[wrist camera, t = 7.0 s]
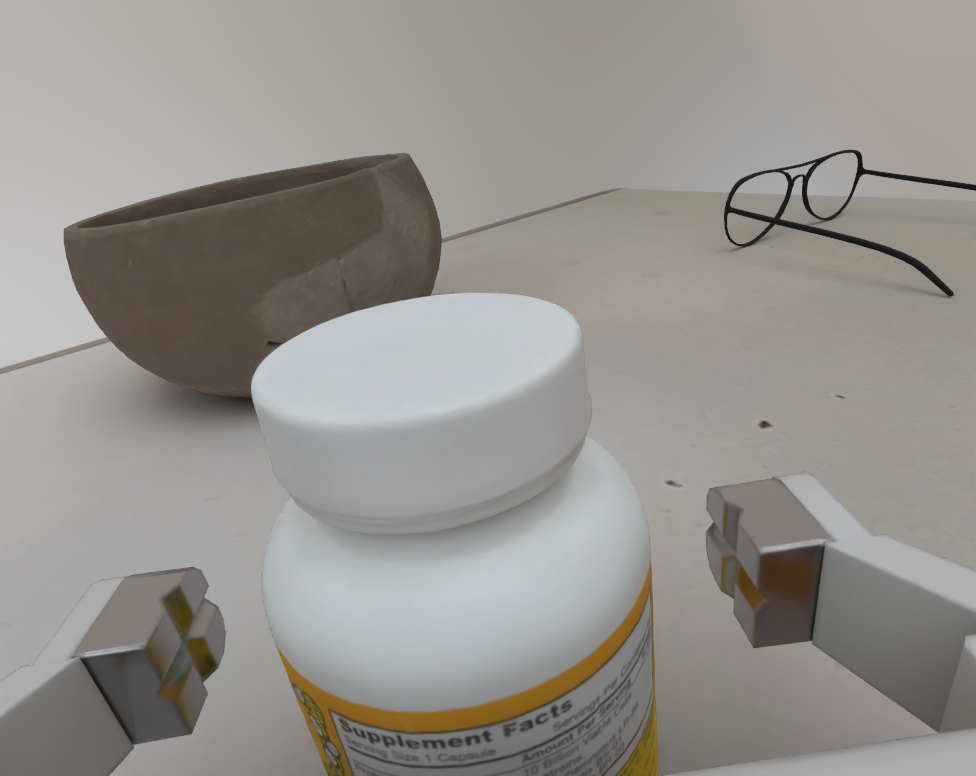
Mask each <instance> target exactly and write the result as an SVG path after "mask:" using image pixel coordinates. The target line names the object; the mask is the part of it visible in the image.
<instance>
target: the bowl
mask: <svg viewBox="0 0 976 776" xmlns="http://www.w3.org/2000/svg"><path fill="white" fill-rule="evenodd" d="M64 245H65V251H66V257H67V260H68V264H69V268H70V272H71V275H72V279H73V281H74V284H75V287H76V290H77V291H78V293H79V295H80V297H81V299H82V301H83V302H84V304H85V306H86V307H87V309H88V310H89V312H90V314H91V315H92V317H93V319H94V320H95V322H96V323H97V325H98V326H99V327H100V329H101V330H102V331H103V332H104V334H105V335H106V336H107V337H108V338H109V339H110V340H111V342H112V343H113V344H114V345H115V346H116V347H117V348H118V349H119V350H120V351H121V352H123V353H124V354H125V355H126V356H127V357H128V358H129V359H131V360H132V361H134V362H135V363H137V364H138V365H140V366H141V367H143V368H144V369H146V370H148V371H150V372H152V373H154V374H155V375H157V376H159V377H161V378H163V379H165V380H167V381H170V382H173V383H176V384H179V385H181V386H185V387H189V388H191V389H194V390H196V391H199V392H203V393H207V394H214V395H219V396H227V397H244V398H252V393H251V383H252V378H253V376H254V374H255V372H256V370H257V368H258V366H259V365H260V364H261V363H262V361H263V360H264V359H265V358H266V357H267V356H268V355H270V354H271V353H272V352H273V351H274V350H275V349H277V348H278V347H279V346H281V345H282V344H284V343H286V342H287V341H289V340H291V339H292V338H294V337H296V336H298V335H299V334H301V333H303V332H305V331H307V330H309V329H311V328H313V327H315V326H317V325H319V324H322V323H324V322H327V321H329V320H332V319H335V318H338V317H340V316H343V315H346V314H349V313H352V312H356V311H359V310H363V309H367V308H371V307H375V306H379V305H382V304H388V303H393V302H398V301H403V300H409V299H414V298H420V297H426V296H430V295H431V293H432V290H433V287H434V283H435V280H436V276H437V272H438V269H439V263H440V255H441V230H440V223H439V219H438V215H437V211H436V208H435V205H434V202H433V199H432V197H431V195H430V192H429V190H428V188H427V186H426V184H425V181H424V179H423V177H422V175H421V173H420V172H419V170H418V168H417V167H416V165H415V163H414V162H413V160H412V158H411V157H410V155H409V154H405V153H401V154H387V155H376V156H366V157H358V158H351V159H344V160H338V161H332V162H327V163H322V164H316V165H310V166H305V167H299V168H293V169H287V170H281V171H275V172H269V173H264V174H259V175H253V176H247V177H241V178H235V179H231V180H226V181H222V182H217V183H213V184H209V185H204V186H200V187H196V188H192V189H188V190H184V191H180V192H176V193H172V194H168V195H165V196H161V197H157V198H153V199H149V200H146V201H142V202H139V203H135V204H132V205H129V206H126V207H122V208H119V209H116V210H113V211H109V212H106V213H102V214H99V215H97V216H94V217H91V218H87V219H85V220H82V221H79V222H77V223H75V224H72V225H70V226H68V227H67V228H65V229H64Z"/></svg>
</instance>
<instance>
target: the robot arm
mask: <svg viewBox="0 0 976 776" xmlns="http://www.w3.org/2000/svg"><path fill="white" fill-rule="evenodd" d="M706 510H707V511H708V513H709V515H710V516H711V518H712V519H713V521H714V522H713V524H712V525H711V526H710V527H709V529H708V530H707V531H706V551H707V556H708V561H709V566H710V569H711V571H712V574H713V576H714V579H715V581H716V583H717V584H718V586H719V588H720V590H721V591H722V592H723V593H725V594H727V595H729V596H730V597H732V598H734V615H735V617H736V618H737V620H738V622H739V624H740V625H741V627H742V629H743V630H744V632H745V634H746V636H747V637H748V639H749V641H750V643H751V644H752V646H753V648H759V647H767V646H775V645H783V644H791V643H799V642H807V641H812V644H813V645H814V646H816V647H817V648H819V649H820V650H821V651H823V652H824V653H826V654H827V655H829V656H830V657H831V658H833V659H834V660H836V661H837V662H839V663H840V664H841V665H843V666H844V667H846V668H847V669H849V670H850V671H851V672H853V673H854V674H856V675H857V676H859V677H860V678H861V679H863V680H864V681H866V682H867V683H868V684H870V685H871V686H873V687H874V688H876V689H877V690H878V691H880V692H881V693H883V694H884V695H886V696H887V697H888V698H890V699H891V700H893V701H894V702H896V703H897V704H898V705H900V706H901V707H903V708H904V709H906V710H907V711H908V712H910V713H911V714H913V715H914V716H916V717H917V718H918V719H920V720H921V721H923V722H924V723H926V724H927V725H928V726H930V727H931V728H933V729H934V730H936V731H937V732H938V733H936V734H929V735H923V736H916V737H910V738H903V739H896V740H890V741H883V742H877V743H870V744H864V745H857V746H850V747H844V748H837V749H831V750H824V751H818V752H811V753H805V754H798V755H791V756H785V757H778V758H772V759H765V760H759V761H752V762H746V763H739V764H733V765H726V766H720V767H713V768H706V769H700V770H693V771H687V772H680V773H674V774H667V775H661V776H976V571H974V570H972V569H969V568H967V567H964V566H962V565H959V564H956V563H954V562H951V561H949V560H946V559H944V558H941V557H939V556H936V555H934V554H931V553H929V552H926V551H924V550H921V549H919V548H916V547H914V546H911V545H908V544H906V543H903V542H901V541H898V540H896V539H893V538H891V537H888V536H886V535H883V534H882V535H875V536H872V535H871V534H870V533H869V532H868V531H867V530H866V529H865V528H864V527H863V526H862V525H861V524H860V523H859V522H858V521H857V520H856V519H855V518H854V517H853V516H852V515H851V514H850V513H849V512H848V511H847V510H846V509H845V508H844V507H843V506H842V505H841V504H840V503H839V502H838V501H837V500H836V499H835V498H834V497H833V496H832V495H831V494H830V493H829V492H828V491H827V490H826V489H825V488H824V487H823V486H822V485H821V484H820V483H819V482H818V481H817V480H816V479H815V478H814V477H813V476H812V475H811V474H809V473H806V472H799V473H794V474H788V475H783V476H777V477H773V478H772V479H766V480H759V481H753V482H747V483H740V484H734V485H728V486H721V487H715V488H709V492H708V495H707V506H706ZM208 587H209V585H208V583H207V581H206V579H205V577H204V575H203V573H202V571H201V570H200V569H197V568H194V567H189V568H181V569H173V570H166V571H158V572H150V573H143V574H135V575H131V576H122V577H115V578H108V579H101V580H99V581H97V582H95V583H93V584H91V585H90V587H89V588H88V589H87V591H86V592H85V593H84V595H83V596H82V597H81V599H80V600H79V601H78V603H77V604H76V606H75V607H74V608H73V610H72V611H71V612H70V614H69V615H68V616H67V618H66V619H65V620H64V622H63V623H62V625H61V626H60V627H59V629H58V630H57V631H56V633H55V634H54V635H53V637H52V638H51V639H50V641H49V642H48V644H47V645H46V646H45V648H44V649H43V650H42V652H41V653H40V654H39V656H38V657H37V658H36V660H35V661H34V662H33V664H32V665H26V666H21V667H20V668H18V669H17V670H15V671H14V672H12V673H11V674H10V675H8V676H7V677H5V678H4V679H2V680H1V681H0V776H109V775H110V774H111V773H112V772H113V770H114V769H115V768H116V767H117V766H118V765H119V764H120V763H121V762H122V761H123V759H124V758H125V757H126V756H127V755H128V754H129V753H130V752H131V751H132V750H133V748H134V746H133V745H135V744H140V743H146V742H151V741H156V740H162V739H167V738H173V737H178V736H184V735H189V734H192V732H193V729H194V727H195V724H196V722H197V719H198V717H199V715H200V712H201V710H202V707H203V705H204V702H205V700H206V697H207V695H208V693H207V690H206V688H205V686H204V684H203V682H204V681H205V680H206V679H207V678H208V677H209V676H210V675H211V674H212V673H213V672H215V671H216V670H217V669H218V667H219V664H220V662H221V659H222V656H223V653H224V647H225V636H226V631H225V625H224V620H223V617H222V614H221V612H220V610H219V607H218V606H216V605H215V604H213V603H212V602H210V601H209V600H207V599H205V598H204V596H205V594H206V592H207V589H208Z"/></svg>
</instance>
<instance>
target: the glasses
mask: <svg viewBox="0 0 976 776" xmlns="http://www.w3.org/2000/svg"><path fill="white" fill-rule="evenodd" d="M850 152H851V153H852V152H853V153H855V154H856V156H857V159H858V168H857V173H856V178H855V181H854V185H853V188H852V191H851V193H850V196H849V197H848V199H847V201H846V203H845V204H844V205H843V207H842V208H841V209H840V210H839V211H838V212H836V213H835V214H834V215H832V216H830V217H828V218H821V217H818V216H817V215H815V214H814V213H813V212H812V210H811V208H810V206H809V202H808V197H807V185H808V180H809V178H810V176H811V174H812V173H813V171H814V170H815V169H816V167H817V166H818V165H820V164H821V163H822V162H823V161H825V160H827V159H829V158H830V157H833V156H835V155H838V154H842V153H850ZM815 162H816V163H815ZM811 163H815V164H814V165H812V167H811V168H810V169H809V171H808V172H807V174H806V176H805V175H797V176H795V177H794V178H793V179H791V176H790V175H789V173H786V172H784V171H782V170H788V169H792V168H797V167H801V166H805V165H808V164H811ZM771 172H780V173H782V174H784V175H785V176H786V178H787V181H788V189H787V193H786V196H785V199H784V201H783V203H782V205H781V207H780V209H779V211H778V213H777V214H776V216H775V218H772V217H768V216H764V215H760V214H755V213H751V212H747V211H743V210H739V209H735V208H732V207H731V206H730V202H731V199H732V197H733V195H734V193H735V192H736V190H737V189H738V187H739V186H740V185H742V184H743V183H744V182H746V181H747V180H749V179H751V178H753V177H756V176H758V175H761V174H765V173H771ZM863 174H870V175H876V176H882V177H888V178H895V179H901V180H908V181H914V182H921V183H928V184H936V185H943V186H949V187H956V188H963V189H969V190H975V191H976V185H972V184H965V183H958V182H951V181H944V180H937V179H929V178H922V177H914V176H907V175H900V174H893V173H885V172H878V171H871V170H865V169H864V168H863V164H862V155H861V153H860V152H859V151H856V150H843V151H839V152H836V153H833V154H830V155H828V156H825V157H822V158H819V159H816V160H813V161H810V162H806V163H803V164H799V165H795V166H790V167H785V168H780V169H774V170H767V171H762V172H758V173H754V174H751V175H749V176H746V177H744V178H742V179H740V180H739V181H738V182H737V183H736V184H735V185H734V187H733V188H732V190H731V192H730V194H729V196H728V199H727V202H726V206H725V212H724V222H725V231H726V235H727V237H728V239H729V240H730V242H732V243H733V244H735V245H737V246H749V245H751V244H753V243H755V242H756V241H758V240H759V239H760V238H762V237H763V236H764V235H765V234H766V233H767V232H768V231H769V230H770V229H771V228H772V227H773V226H774V225H775V224H777V225H781V226H785V227H789V228H794V229H798V230H802V231H806V232H810V233H814V234H818V235H822V236H826V237H830V238H834V239H838V240H842V241H846V242H849V243H853V244H857V245H860V246H863V247H867V248H870V249H874V250H877V251H880V252H883V253H885V254H888V255H891V256H893V257H896V258H898V259H901V260H902V261H904V262H906V263H908V264H910V265H912V266H913V267H915V268H916V269H917V270H919V271H920V272H921V273H923V274H924V275H925V276H926V277H927V278H928V279H930V280H931V281H932V282H933V283H934V284H935V285H936V286H938V287H939V288H940V289H941V290H942V291H943V292H945V293H946V294H947V295H948V296H953V295H954V294H953V291H951V290H950V289H949V288H948V287H947V286H946V285H945V284H944V283H943V282H942V281H941V280H940V279H939V278H938V277H937V276H936V275H935V274H934V273H933V272H932V271H931V270H930V269H929V268H928V267H927V266H925V265H924V264H923V263H921V262H920V261H918V260H917V259H915V258H913V257H911V256H909V255H907V254H905V253H903V252H900V251H897V250H895V249H892V248H889V247H887V246H884V245H881V244H877V243H874V242H870V241H867V240H863V239H860V238H856V237H852V236H848V235H844V234H840V233H836V232H832V231H828V230H824V229H820V228H816V227H811V226H807V225H803V224H798V223H794V222H790V221H785V220H781V219H780V217H781V215H782V214H783V212H784V210H785V208H786V206H787V204H788V201H789V199H790V196H791V192H792V187H793V186H794V181H795V180H796V179H797V178H798V177H800V176H802V177H803V186H802V197H803V203H804V206H805V208H806V210H807V211H808V212H809V213H810V214H811V215H813V216H814V217H816V218H818V219H820V220H830V219H833V218H834V217H836V216H837V215H838V214H840V213H841V212H842V211H843V209H844V208H845V207H846V206H847V204H848V203H849V201H850V199H851V197H852V195H853V192H854V190H855V188H856V185H857V183H858V180H859V178H860V177H861V175H863ZM730 212H731V213H735V214H738V215H742V216H745V217H749V218H753V219H757V220H761V221H765V222H769V223H770V225H769V226H768V227H767V228H766V229H765V230H764V231H763V232H762V233H761V234H760V235H759V236H757V237H756V238H755V239H753V240H752V241H750V242H748V243H746V244H737V243H735V242H734V241H733V240H732V239H731V238H730V235H729V233H728V229H727V215H728V213H730Z"/></svg>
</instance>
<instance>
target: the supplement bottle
mask: <svg viewBox="0 0 976 776" xmlns="http://www.w3.org/2000/svg"><path fill="white" fill-rule="evenodd" d="M251 393H252V399H253V403H254V407H255V411H256V414H257V417H258V421H259V424H260V427H261V430H262V434H263V437H264V440H265V443H266V446H267V449H268V452H269V455H270V459H271V464H272V468H273V472H274V474H275V476H276V478H277V479H278V481H279V483H280V484H281V485H282V486H283V487H284V488H285V489H286V490H287V491H288V492H289V494H290V496H291V497H290V498H289V500H288V502H287V503H286V505H285V506H284V508H283V509H282V511H281V512H280V514H279V516H278V518H277V520H276V522H275V524H274V526H273V528H272V530H271V533H270V536H269V540H268V543H267V546H266V549H265V553H264V559H263V566H262V597H263V604H264V608H265V612H266V616H267V619H268V623H269V627H270V630H271V633H272V636H273V638H274V641H275V643H276V646H277V649H278V651H279V654H280V656H281V659H282V662H283V664H284V667H285V669H286V672H287V675H288V677H289V680H290V682H291V685H292V687H293V690H294V692H295V695H296V697H297V700H298V703H299V705H300V708H301V710H302V712H303V714H304V717H305V719H306V722H307V725H308V728H309V730H310V732H311V735H312V737H313V739H314V742H315V744H316V746H317V749H318V752H319V754H320V757H321V760H322V762H323V765H324V767H325V769H326V772H327V774H328V776H659V773H658V745H657V721H656V700H655V659H654V641H653V595H652V569H651V551H650V536H649V527H648V521H647V516H646V513H645V509H644V506H643V503H642V501H641V498H640V495H639V493H638V491H637V489H636V487H635V485H634V483H633V482H632V480H631V478H630V477H629V475H628V474H627V473H626V471H625V470H624V468H623V467H622V466H621V465H620V464H619V462H618V461H617V460H616V459H615V458H614V457H613V456H612V455H611V454H610V453H609V452H608V451H607V450H606V449H605V448H604V447H602V446H601V445H600V444H598V443H597V442H596V441H594V440H593V439H591V438H590V437H588V436H587V435H586V434H587V431H588V429H589V425H590V421H591V415H592V405H591V399H590V396H589V392H588V385H587V376H586V368H585V358H584V347H583V338H582V332H581V329H580V326H579V324H578V322H577V320H576V319H575V318H574V317H573V316H572V315H571V314H570V313H569V312H568V311H567V310H565V309H564V308H562V307H560V306H558V305H555V304H553V303H551V302H547V301H544V300H541V299H537V298H533V297H527V296H522V295H517V294H501V293H455V294H444V295H433V296H426V297H420V298H414V299H409V300H403V301H398V302H393V303H388V304H382V305H379V306H375V307H371V308H367V309H363V310H359V311H356V312H352V313H349V314H346V315H343V316H340V317H338V318H335V319H332V320H329V321H327V322H324V323H322V324H319V325H317V326H315V327H313V328H311V329H309V330H307V331H305V332H303V333H301V334H299V335H298V336H296V337H294V338H292V339H291V340H289V341H287V342H286V343H284V344H282V345H281V346H279V347H278V348H277V349H275V350H274V351H273V352H272V353H271V354H270V355H268V356H267V357H266V358H265V359H264V360H263V361H262V363H261V364H260V365H259V366H258V368H257V370H256V372H255V374H254V376H253V378H252V383H251Z"/></svg>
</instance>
